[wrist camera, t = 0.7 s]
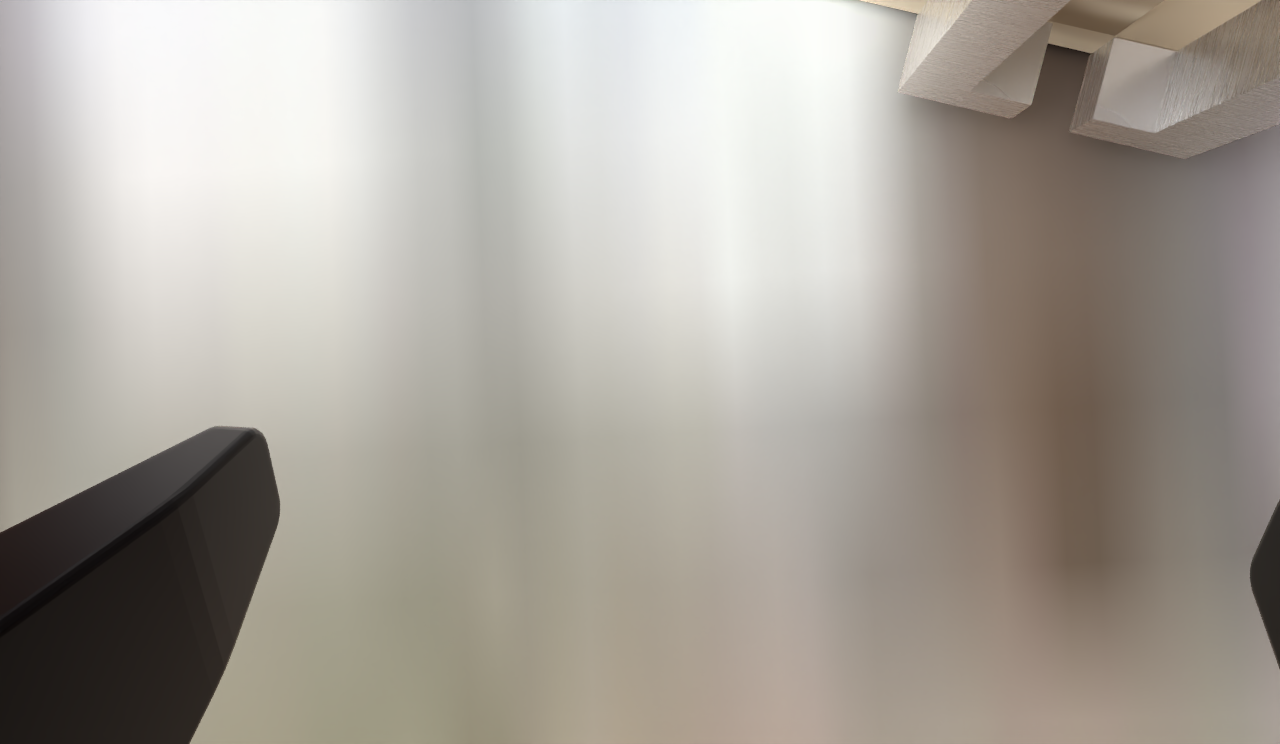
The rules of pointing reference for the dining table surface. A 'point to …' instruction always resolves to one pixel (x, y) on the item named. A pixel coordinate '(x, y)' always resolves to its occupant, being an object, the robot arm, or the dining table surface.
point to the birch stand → (1126, 20)
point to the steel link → (1104, 74)
